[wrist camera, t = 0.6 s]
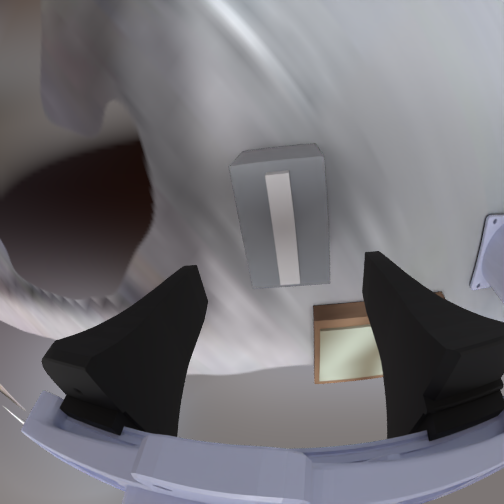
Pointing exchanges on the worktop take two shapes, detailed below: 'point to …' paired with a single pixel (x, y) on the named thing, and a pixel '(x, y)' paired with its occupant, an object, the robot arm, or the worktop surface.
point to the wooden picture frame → (345, 344)
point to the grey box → (283, 215)
